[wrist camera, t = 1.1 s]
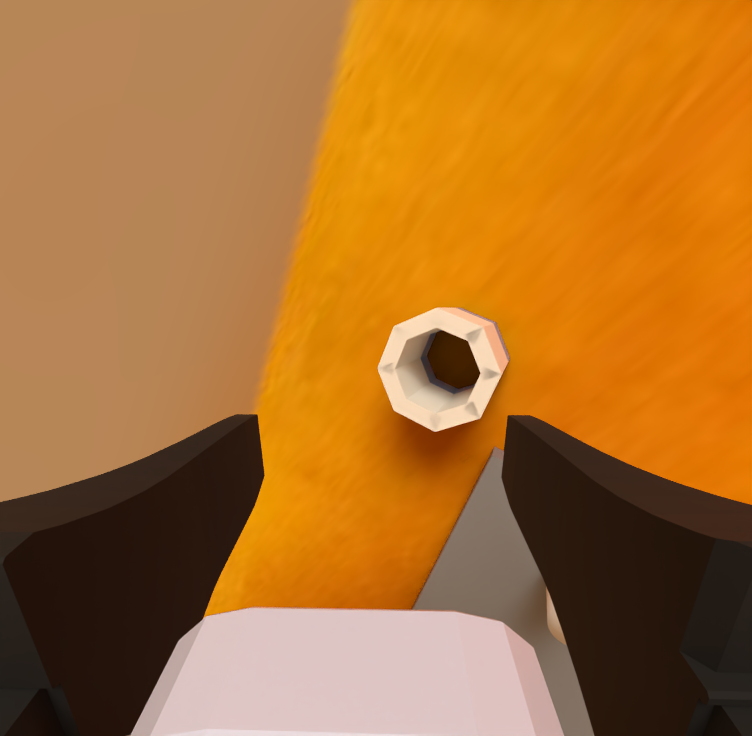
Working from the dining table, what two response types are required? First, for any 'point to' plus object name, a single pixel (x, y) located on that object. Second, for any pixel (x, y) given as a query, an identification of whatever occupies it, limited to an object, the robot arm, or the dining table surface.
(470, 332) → the sleeve
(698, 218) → the dining table surface
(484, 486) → the pin board
